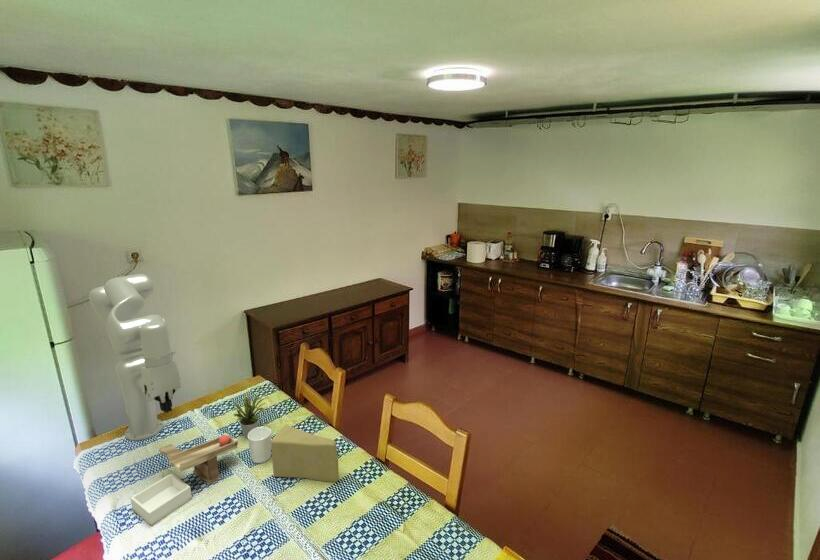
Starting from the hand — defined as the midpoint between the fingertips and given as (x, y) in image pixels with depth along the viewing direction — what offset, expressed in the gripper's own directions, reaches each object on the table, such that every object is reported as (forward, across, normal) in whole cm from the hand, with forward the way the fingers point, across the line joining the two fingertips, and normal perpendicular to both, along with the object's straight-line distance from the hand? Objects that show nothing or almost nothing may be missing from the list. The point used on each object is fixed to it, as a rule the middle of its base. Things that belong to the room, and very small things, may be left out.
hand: (166, 410), depth 133 cm
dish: (+24, +10, +10) cm, 28 cm away
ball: (+15, -12, +11) cm, 22 cm away
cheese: (+25, -23, +39) cm, 52 cm away
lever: (+17, -4, +6) cm, 19 cm away
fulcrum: (+24, -4, +10) cm, 26 cm away
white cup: (+24, -20, +18) cm, 37 cm away
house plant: (+24, -28, +6) cm, 37 cm away
